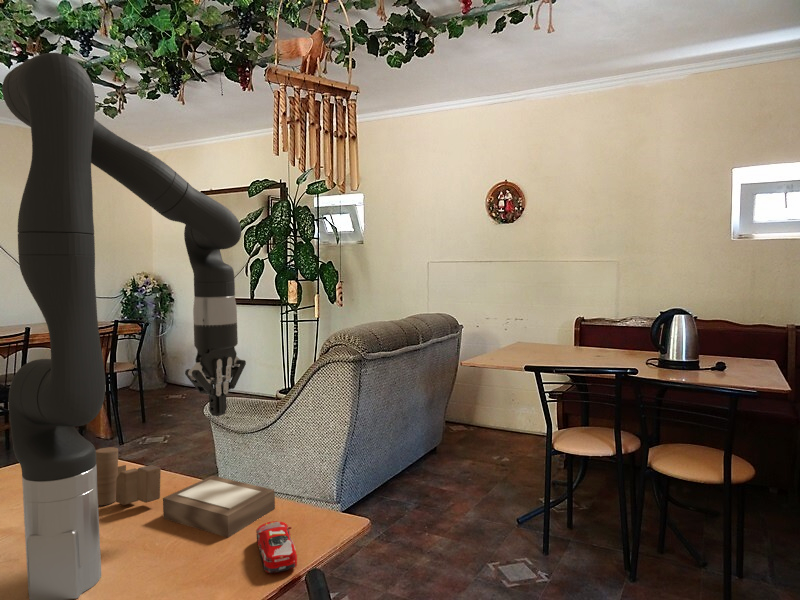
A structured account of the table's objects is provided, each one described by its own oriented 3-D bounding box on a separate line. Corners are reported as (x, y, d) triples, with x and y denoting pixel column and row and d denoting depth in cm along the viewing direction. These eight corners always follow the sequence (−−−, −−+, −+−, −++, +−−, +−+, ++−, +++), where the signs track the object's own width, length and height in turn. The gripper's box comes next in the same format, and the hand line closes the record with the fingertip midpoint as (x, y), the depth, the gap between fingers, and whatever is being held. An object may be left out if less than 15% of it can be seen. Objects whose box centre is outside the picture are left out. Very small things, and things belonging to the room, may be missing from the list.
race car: (254, 536, 94) (254, 513, 94) (287, 530, 96) (286, 508, 95) (262, 580, 82) (261, 554, 81) (299, 572, 83) (299, 547, 83)
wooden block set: (168, 504, 108) (170, 451, 108) (126, 518, 101) (127, 461, 101) (117, 486, 118) (119, 438, 118) (75, 497, 111) (77, 446, 111)
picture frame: (275, 510, 105) (274, 488, 105) (228, 538, 95) (227, 514, 94) (213, 494, 113) (212, 474, 112) (163, 519, 102) (162, 496, 102)
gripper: (201, 325, 93) (205, 427, 94) (256, 318, 105) (258, 408, 106) (171, 323, 97) (174, 421, 98) (227, 317, 108) (229, 404, 110)
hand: (218, 414), depth 102 cm, fingers closed
